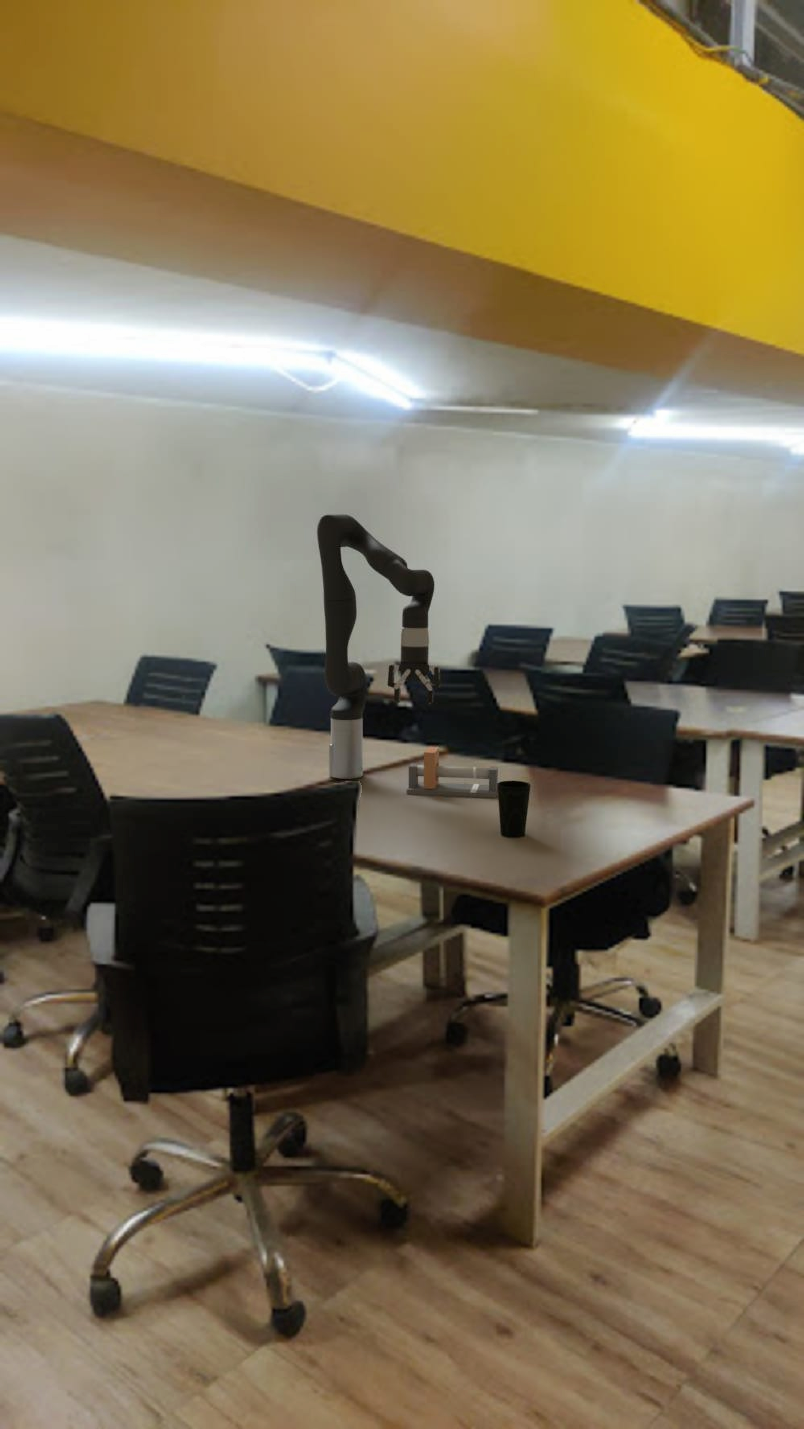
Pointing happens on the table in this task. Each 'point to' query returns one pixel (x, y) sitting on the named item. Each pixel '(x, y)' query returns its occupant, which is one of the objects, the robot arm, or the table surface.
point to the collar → (431, 767)
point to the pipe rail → (455, 788)
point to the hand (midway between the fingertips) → (413, 703)
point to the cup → (513, 807)
